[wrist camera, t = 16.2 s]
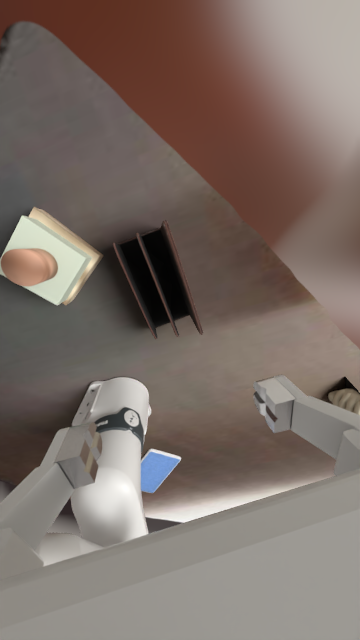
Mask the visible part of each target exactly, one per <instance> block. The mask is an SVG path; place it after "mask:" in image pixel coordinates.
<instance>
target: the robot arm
mask: <svg viewBox="0 0 360 640" xmlns="http://www.w3.org/2000/svg"><path fill="white" fill-rule="evenodd" d="M254 389H255V390H256V392H255V393H254V402H255V405H256V407H257V409H258V411H259V412H260V413H261V414H262V415H264V416H266V422H267V424H268V425H269V427H270V428H271V430H272V431H273V432H274V433H276V432H280V431H285V430H289V429H291V430H292V431H293V432H295V433H296V434H298V435H299V436H301V437H303V438H304V439H306V440H307V441H309V442H310V443H312V444H313V445H315V446H316V447H318V448H319V449H321V450H322V451H324V452H326V453H327V454H329V455H330V456H332V457H333V458H335V459H336V464H335V468H334V474H335V475H336V476H334V477H331V478H327V479H324V480H321V481H318V482H315V483H311V484H308V485H305V486H302V487H298V488H295V489H292V490H289V491H285V492H282V493H279V494H276V495H273V496H269V497H266V498H263V499H260V500H256V501H253V502H250V503H247V504H243V505H240V506H237V507H234V508H231V509H227V510H224V511H221V512H218V513H214V514H211V515H208V516H205V517H201V518H198V519H195V520H192V521H189V522H185V523H182V524H179V525H176V526H172V527H169V528H166V529H163V530H160V531H156V532H153V533H150V534H148V529H147V524H146V520H145V514H144V509H143V503H142V495H141V452H142V450H143V444H144V435H145V434H146V430H147V421H148V416H149V415H150V414H151V407H150V405H149V393H148V391H147V389H146V387H145V386H144V385H143V384H142V383H140V382H139V381H137V380H135V379H132V378H126V377H119V378H113V379H110V380H107V381H95V382H92V383H91V384H90V386H89V388H88V390H87V392H86V394H85V396H84V398H83V400H82V402H81V404H80V406H79V408H78V410H77V413H76V415H75V417H74V419H73V421H72V427H68V428H64V429H60V430H59V431H58V432H57V433H56V435H55V437H54V439H53V441H52V443H51V445H50V447H49V449H48V451H47V453H46V455H45V457H44V459H43V461H42V463H41V465H40V467H37V468H35V469H34V470H33V471H32V472H31V473H30V474H29V475H28V476H27V477H26V478H25V479H24V480H23V481H22V482H21V483H20V484H19V485H18V486H17V487H16V488H15V489H14V490H13V491H12V492H11V493H10V494H9V495H8V496H7V497H6V498H5V499H4V500H3V501H2V502H1V503H0V640H360V415H358V414H355V413H353V412H350V411H348V410H345V409H342V408H340V407H337V406H335V405H332V404H330V403H327V402H324V401H322V400H319V399H317V398H314V397H312V396H308V397H307V396H306V395H305V394H304V393H303V392H302V391H301V390H300V389H298V388H297V387H296V386H295V385H294V384H293V383H292V382H291V381H290V380H289V379H287V378H286V377H285V376H284V375H278V376H274V377H271V378H267V379H263V380H259V381H255V382H254ZM70 496H71V503H72V509H73V512H74V515H75V517H76V520H77V522H78V525H79V528H80V532H81V537H78V536H75V535H73V534H69V533H47V531H48V530H49V528H50V527H51V525H52V524H53V522H54V520H55V519H56V517H57V516H58V515H59V513H60V512H61V510H62V509H63V507H64V505H65V504H66V502H67V501H68V499H69V498H70Z"/></svg>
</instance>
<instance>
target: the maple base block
mask: <svg viewBox="0 0 360 640" xmlns="http://www.w3.org/2000/svg"><path fill="white" fill-rule="evenodd" d="M29 217H30V218H34V219H37V220H39V221H40V222H42V223H43V224H45V225H46V226H48V227H49V228H50V229H52V230H53V231H55V232H56V233H58V234H59V235H61V236H62V237H64V238H65V239H67V240H68V241H69V242H71V243H72V244H74V245H75V246H77V247H78V248H80V249H81V250H83V251H84V252H86V253H87V254H88V255H90V256H91V257H93V258H92V259H91V261H90V263H89V264H88V266H87V267H86V269H85V271H84V272H83V274H82V275H81V277H80V279H79V280H78V282H77V284H76V285H75V287H74V288H73V290H72V292H71V293H70V295H69V297H68V298H67V300H65V301H64V302H62V303H63V304H65V305H67V304H68V303H70V302H71V301H73V299H74V298H75V296H76V295H77V294H78V292H79V291H80V289H81V288H82V286H83V285H84V283H85V282H86V280H87V279H88V278H89V276H90V275H91V273H92V272H93V270H94V269H95V267H96V266H97V265H98V263H99V262H100V260H101V259H102V257H103V256H104V255H103V254H101V253H100V252H99V251H97V250H96V249H95V248H93V247H92V246H91V245H89V244H88V243H87V242H85V241H84V240H83V239H81V238H80V237H79V236H77V235H76V234H75V233H73V232H72V231H71V230H69V229H68V228H67V227H65V226H64V225H63V224H61V223H60V222H59V221H57V220H56V219H55V218H53V217H52V216H51V215H49V214H48V213H47V212H46V211H44V210H41V209H38V208H35V207H34V208H33V210H32V211H31V213H30V215H29Z"/></svg>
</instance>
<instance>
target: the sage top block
mask: <svg viewBox="0 0 360 640" xmlns="http://www.w3.org/2000/svg"><path fill="white" fill-rule="evenodd" d="M32 248H39V249H43V250H45V251H47V252H49V253H50V254H51V255H52V256H53V257H54V258H55V260H56V262H57V264H58V271H57V274H56V275H55V277H53V278H52V279H50V280H47V281H44V282H41V283H39V284H36V285H33V286H23V287H25V288H26V289H28V290H30V291H32V292H34V293H35V294H37V295H39V296H41V297H43V298H44V299H46V300H48V301H50V302H52V303H54V304H55V305H59V304H61V303H62V302H64V301H65V300H67V298H68V297H69V295H70V293H71V292H72V290H73V288H74V287H75V285H76V284H77V282H78V280H79V279H80V277H81V275H82V274H83V272H84V271H85V269H86V267H87V266H88V264H89V263H90V261H91V259H92V258H93V257H91V256H90V255H88V254H87V253H86V252H84V251H83V250H81V249H80V248H78V247H77V246H75V245H74V244H72V243H71V242H69V241H68V240H67V239H65V238H64V237H62V236H61V235H59V234H58V233H56V232H55V231H53V230H52V229H50V228H49V227H48V226H46V225H45V224H43V223H42V222H40V221H39V220H37V219H34V218H30V217H27V216H23V215H22V217H21V219H20V221H19V223H18V225H17V227H16V229H15V231H14V233H13V235H12V237H11V239H10V241H9V243H8V245H7V247H6V249H5V251H4V253H6V252H7V251H9V250H12V249H32ZM4 253H3V254H2V256H3V255H4ZM2 256H1V258H2ZM1 258H0V274H1V275H3V276H5V274H4V273H3V271H2V268H1ZM5 277H6V276H5Z"/></svg>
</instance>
